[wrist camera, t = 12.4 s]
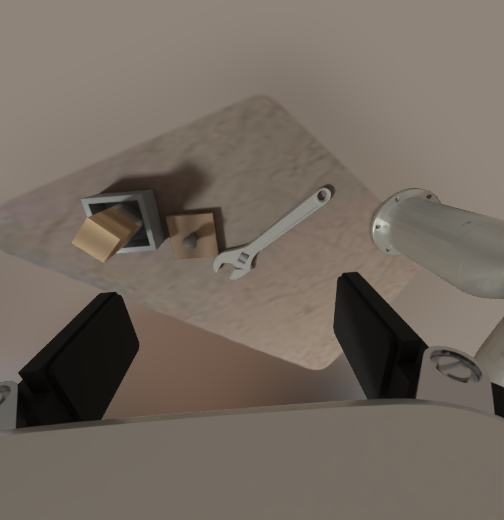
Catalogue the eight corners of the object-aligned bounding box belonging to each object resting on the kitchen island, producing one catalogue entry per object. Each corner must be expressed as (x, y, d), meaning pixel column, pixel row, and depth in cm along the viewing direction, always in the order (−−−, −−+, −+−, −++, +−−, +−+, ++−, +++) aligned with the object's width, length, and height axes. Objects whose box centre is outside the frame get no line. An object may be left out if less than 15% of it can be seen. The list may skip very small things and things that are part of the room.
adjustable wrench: (323, 182, 40) (326, 184, 39) (338, 213, 43) (342, 215, 41) (209, 258, 45) (208, 262, 44) (228, 281, 48) (228, 286, 46)
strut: (126, 200, 39) (87, 217, 29) (150, 217, 40) (120, 239, 30) (113, 220, 40) (71, 242, 30) (136, 236, 41) (103, 262, 31)
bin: (153, 189, 39) (141, 194, 35) (165, 239, 43) (156, 250, 38) (99, 193, 39) (80, 198, 34) (116, 243, 43) (101, 254, 38)
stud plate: (213, 211, 41) (209, 219, 36) (219, 252, 44) (216, 265, 39) (167, 214, 41) (157, 223, 36) (177, 256, 44) (169, 269, 39)
